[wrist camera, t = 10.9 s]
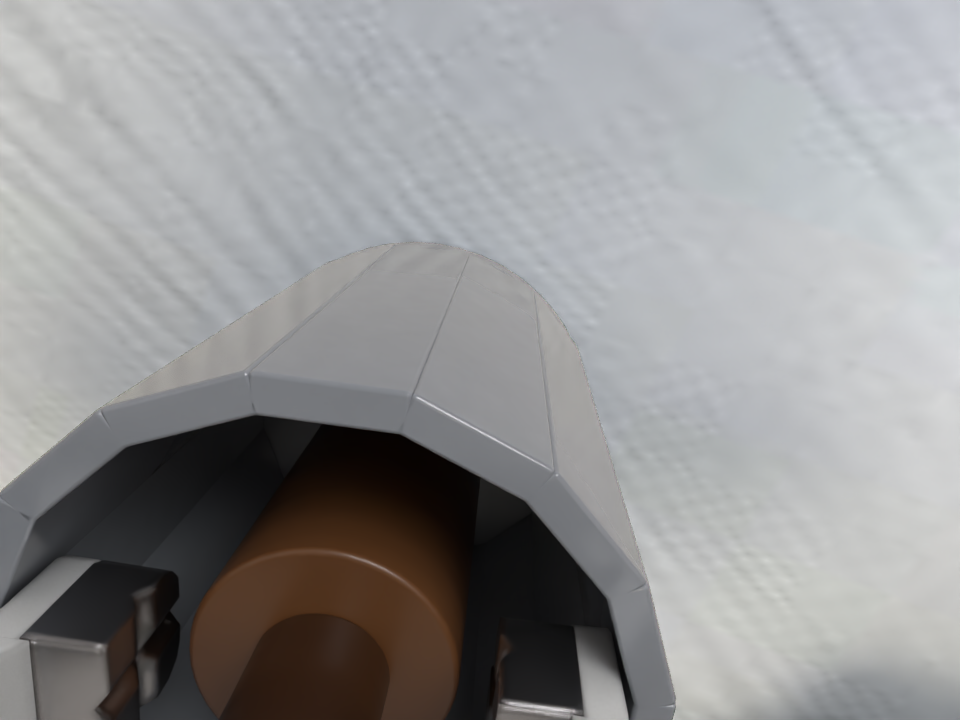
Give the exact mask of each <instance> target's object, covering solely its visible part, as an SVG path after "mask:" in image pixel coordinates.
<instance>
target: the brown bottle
mask: <svg viewBox="0 0 960 720" xmlns="http://www.w3.org/2000/svg"><path fill="white" fill-rule="evenodd" d="M480 478H481V477H479V476H477V475H475V474H473V473H471V472H469V471H467V470H466V469H464V468H462V467H460V466H458V465H456V464H454V463H452V462H451V461H449V460H447V459H445V458H443V457H441V456H439V455H438V454H436V453H434V452H432V451H430V450H428V449H426V448H424V447H423V446H421V445H419V444H417V443H415V442H413V441H411V440H410V439H408V438H406V437H404V436H402V435H400V434H393V433H386V432H379V431H371V430H364V429H356V428H349V427H342V426H334V425H327V424H322V425H321V426H320V428H319V429H318V431H317V432H316V434H315V435H314V436H313V438H312V439H311V441H310V442H309V444H308V445H307V447H306V448H305V450H304V451H303V453H302V454H301V455H300V457H299V458H298V460H297V461H296V463H295V464H294V466H293V467H292V469H291V470H290V471H289V473H288V474H287V476H286V477H285V479H284V480H283V482H282V483H281V485H280V486H279V487H278V489H277V490H276V492H275V493H274V495H273V496H272V498H271V499H270V501H269V502H268V504H267V505H266V506H265V508H264V509H263V511H262V512H261V514H260V515H259V517H258V518H257V520H256V521H255V522H254V524H253V525H252V527H251V528H250V530H249V531H248V533H247V534H246V536H245V537H244V539H243V540H242V541H241V543H240V544H239V546H238V547H237V549H236V550H235V552H234V553H233V555H232V556H231V557H230V559H229V560H228V562H227V563H226V565H225V566H224V568H223V569H222V571H221V572H220V574H219V575H218V576H217V578H216V579H215V581H214V582H213V584H212V585H211V587H210V588H209V590H208V591H207V593H206V594H205V596H204V597H203V599H202V601H201V602H200V604H199V606H198V609H197V611H196V613H195V616H194V619H193V623H192V627H191V632H190V646H189V652H190V663H191V668H192V672H193V676H194V679H195V682H196V684H197V687H198V689H199V691H200V693H201V695H202V697H203V699H204V700H205V702H206V704H207V705H208V707H209V708H210V709H211V711H212V712H213V713H214V715H215V716H216V717H217V718H218V720H445V718H446V717H447V715H448V713H449V712H450V710H451V708H452V705H453V703H454V700H455V698H456V694H457V690H458V686H459V679H460V669H461V660H462V650H463V641H464V631H465V622H466V612H467V603H468V593H469V583H470V574H471V564H472V555H473V545H474V536H475V526H476V517H477V507H478V497H479V488H480Z"/></svg>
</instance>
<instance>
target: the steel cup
mask: <svg viewBox="0 0 960 720" xmlns="http://www.w3.org/2000/svg"><path fill="white" fill-rule="evenodd" d="M322 424H327V425H334V426H342V427H349V428H356V429H364V430H371V431H379V432H386V433H393V434H400V435H402V436H404V437H406V438H408V439H410V440H411V441H413V442H415V443H417V444H419V445H421V446H423V447H424V448H426V449H428V450H430V451H432V452H434V453H436V454H438V455H439V456H441V457H443V458H445V459H447V460H449V461H451V462H452V463H454V464H456V465H458V466H460V467H462V468H464V469H466V470H467V471H469V472H471V473H473V474H475V475H477V476H479V477H481V478H480V488H479V497H478V507H477V517H476V526H475V536H474V545H473V555H472V564H471V574H470V583H469V593H468V603H467V612H466V622H465V631H464V641H463V650H462V660H461V669H460V679H459V686H458V690H457V694H456V698H455V700H454V703H453V705H452V708H451V710H450V712H449V713H448V715H447V717H446V718H445V720H485V712H486V703H487V695H488V687H489V680H490V673H491V667H492V666H493V665H494V661H495V641H496V635H497V629H498V624H499V619H500V616H502V617H510V618H517V619H525V620H533V621H540V622H548V623H555V624H563V625H570V626H572V625H581V626H590V627H599V628H608V629H609V631H610V632H611V633H612V636H613V641H614V646H615V651H616V656H617V661H618V666H619V671H620V676H621V681H622V686H623V691H624V696H625V701H626V706H627V711H628V716H629V720H672V719H673V715H674V712H675V708H676V706H675V701H676V696H675V692H674V688H673V684H672V680H671V675H670V671H669V667H668V663H667V658H666V654H665V650H664V646H663V641H662V637H661V633H660V629H659V624H658V620H657V616H656V612H655V607H654V603H653V599H652V595H651V590H650V586H649V583H648V580H647V576H646V573H645V570H644V566H643V563H642V560H641V556H640V553H639V550H638V546H637V543H636V540H635V536H634V533H633V530H632V526H631V523H630V520H629V516H628V513H627V510H626V506H625V503H624V500H623V496H622V493H621V490H620V487H619V483H618V480H617V477H616V473H615V470H614V467H613V463H612V460H611V457H610V453H609V450H608V447H607V443H606V440H605V437H604V433H603V430H602V427H601V423H600V420H599V417H598V413H597V410H596V407H595V403H594V400H593V397H592V393H591V390H590V387H589V383H588V380H587V377H586V374H585V370H584V367H583V364H582V360H581V357H580V354H579V350H578V348H577V346H576V344H575V343H574V341H573V340H572V339H571V337H570V335H569V333H568V331H567V329H566V328H565V326H564V325H563V323H562V322H561V320H560V319H559V317H558V316H557V314H556V312H555V311H554V310H553V309H552V307H551V306H550V305H549V304H548V303H547V302H546V301H545V299H544V298H543V297H542V296H541V295H540V294H539V293H538V292H537V291H536V290H535V289H533V288H532V287H531V286H530V285H529V284H528V283H527V282H526V281H524V280H523V279H522V278H520V277H519V276H517V275H516V274H514V273H513V272H511V271H510V270H508V269H507V268H505V267H504V266H502V265H500V264H498V263H496V262H494V261H492V260H490V259H488V258H486V257H484V256H482V255H479V254H476V253H473V252H470V251H467V250H464V249H461V248H457V247H452V246H447V245H442V244H437V243H423V242H405V243H390V244H385V245H380V246H375V247H370V248H367V249H364V250H361V251H358V252H355V253H352V254H349V255H347V256H345V257H343V258H341V259H337V260H334V261H330V262H328V263H326V264H324V265H322V266H321V267H319V268H318V269H316V270H314V271H313V272H311V273H310V274H308V275H307V276H305V277H304V278H302V279H300V280H299V281H297V282H296V283H294V284H293V285H291V286H290V287H288V288H286V289H285V290H283V291H282V292H280V293H279V294H277V295H275V296H274V297H272V298H271V299H269V300H268V301H266V302H265V303H263V304H261V305H260V306H258V307H257V308H255V309H254V310H252V311H250V312H249V313H247V314H246V315H244V316H243V317H241V318H240V319H238V320H236V321H235V322H233V323H232V324H230V325H229V326H227V327H226V328H224V329H222V330H221V331H219V332H218V333H216V334H215V335H213V336H211V337H210V338H208V339H207V340H205V341H204V342H202V343H201V344H199V345H197V346H196V347H194V348H193V349H191V350H190V351H188V352H186V353H185V354H183V355H182V356H180V357H179V358H177V359H176V360H174V361H172V362H171V363H169V364H168V365H166V366H165V367H163V368H162V369H160V370H158V371H157V372H155V373H154V374H152V375H151V376H149V377H147V378H146V379H144V380H143V381H141V382H140V383H138V384H137V385H135V386H133V387H132V388H130V389H129V390H127V391H126V392H124V393H122V394H121V395H119V396H118V397H116V398H115V399H113V400H112V401H110V402H108V403H107V404H105V405H104V406H102V407H101V408H99V409H97V410H96V411H95V412H94V413H92V414H91V415H90V416H89V417H88V418H86V419H85V420H84V421H83V422H82V423H81V424H79V425H78V426H77V427H76V428H75V429H73V430H72V431H71V432H70V433H69V434H67V435H66V436H65V437H64V438H63V439H61V440H60V441H59V442H58V443H57V444H56V445H54V446H53V447H52V448H51V449H50V450H48V451H47V452H46V453H45V454H44V455H42V456H41V457H40V458H39V459H38V460H37V461H35V462H34V463H33V464H32V465H31V466H29V467H28V468H27V469H26V470H25V471H23V472H22V473H21V474H20V475H19V476H18V477H16V478H15V479H14V480H13V481H12V482H10V483H9V484H8V485H7V486H6V487H4V488H3V489H2V490H1V492H0V609H1V608H2V607H3V606H4V605H5V604H6V603H7V602H9V601H10V600H11V599H12V598H13V597H14V596H15V595H16V594H17V593H19V592H20V591H21V590H22V589H23V588H24V587H25V586H26V585H27V584H29V583H30V582H31V581H32V580H33V579H34V578H35V577H36V576H37V575H38V574H40V573H41V572H42V571H43V570H44V569H45V568H46V567H47V566H48V565H50V564H51V563H52V562H53V561H54V560H55V559H56V558H59V557H62V556H66V555H72V556H79V557H85V558H92V559H98V560H101V561H102V560H107V561H113V562H120V563H126V564H132V565H138V566H145V567H151V568H157V569H163V570H169V571H173V572H174V573H175V574H176V575H177V576H178V579H179V595H180V597H179V599H178V600H177V601H176V603H175V604H174V606H173V607H172V608H171V610H170V611H171V613H172V614H173V615H174V617H175V618H176V619H177V621H178V622H179V623H180V643H179V649H178V655H177V659H176V662H175V664H174V667H173V670H172V672H171V675H170V678H169V680H168V682H167V683H166V685H165V686H164V688H163V690H162V691H161V693H160V695H159V696H158V697H157V698H155V699H154V700H152V701H150V702H149V703H147V704H145V705H143V706H142V707H140V720H218V718H217V717H216V716H215V715H214V713H213V712H212V711H211V709H210V708H209V707H208V705H207V704H206V702H205V700H204V699H203V697H202V695H201V693H200V691H199V689H198V687H197V684H196V682H195V679H194V676H193V672H192V668H191V663H190V652H189V646H190V632H191V627H192V623H193V619H194V616H195V613H196V611H197V609H198V606H199V604H200V602H201V601H202V599H203V597H204V596H205V594H206V593H207V591H208V590H209V588H210V587H211V585H212V584H213V582H214V581H215V579H216V578H217V576H218V575H219V574H220V572H221V571H222V569H223V568H224V566H225V565H226V563H227V562H228V560H229V559H230V557H231V556H232V555H233V553H234V552H235V550H236V549H237V547H238V546H239V544H240V543H241V541H242V540H243V539H244V537H245V536H246V534H247V533H248V531H249V530H250V528H251V527H252V525H253V524H254V522H255V521H256V520H257V518H258V517H259V515H260V514H261V512H262V511H263V509H264V508H265V506H266V505H267V504H268V502H269V501H270V499H271V498H272V496H273V495H274V493H275V492H276V490H277V489H278V487H279V486H280V485H281V483H282V482H283V480H284V479H285V477H286V476H287V474H288V473H289V471H290V470H291V469H292V467H293V466H294V464H295V463H296V461H297V460H298V458H299V457H300V455H301V454H302V453H303V451H304V450H305V448H306V447H307V445H308V444H309V442H310V441H311V439H312V438H313V436H314V435H315V434H316V432H317V431H318V429H319V428H320V426H321V425H322Z"/></svg>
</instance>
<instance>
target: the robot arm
mask: <svg viewBox="0 0 960 720" xmlns="http://www.w3.org/2000/svg"><path fill="white" fill-rule="evenodd" d="M179 597H180V595H179V579H178V576H177V575H176V574H175V573H174V572H173V571H169V570H163V569H157V568H151V567H145V566H138V565H132V564H126V563H120V562H113V561H107V560H102V561H101V560H98V559H92V558H85V557H79V556H72V555H66V556H62V557H59V558H56V559H55V560H54V561H53V562H52V563H51V564H50V565H48V566H47V567H46V568H45V569H44V570H43V571H42V572H41V573H40V574H38V575H37V576H36V577H35V578H34V579H33V580H32V581H31V582H30V583H29V584H27V585H26V586H25V587H24V588H23V589H22V590H21V591H20V592H19V593H17V594H16V595H15V596H14V597H13V598H12V599H11V600H10V601H9V602H7V603H6V604H5V605H4V606H3V607H2V608H1V609H0V720H140V707H142V706H143V705H145V704H147V703H149V702H150V701H152V700H154V699H155V698H157V697H158V696H159V695H160V693H161V691H162V690H163V688H164V686H165V685H166V683H167V682H168V680H169V678H170V675H171V672H172V670H173V667H174V664H175V662H176V659H177V655H178V649H179V643H180V623H179V622H178V621H177V619H176V618H175V617H174V615H173V614H172V613H171V611H170V610H171V608H172V607H173V606H174V604H175V603H176V601H177V600H178V599H179ZM485 720H629V716H628V711H627V706H626V701H625V696H624V691H623V686H622V681H621V676H620V671H619V666H618V661H617V656H616V651H615V646H614V641H613V636H612V633H611V632H610V631H609V629H608V628H599V627H590V626H581V625H572V626H570V625H563V624H555V623H548V622H540V621H533V620H525V619H517V618H510V617H502V616H500V619H499V624H498V629H497V635H496V641H495V661H494V665H493V666H492V667H491V673H490V680H489V687H488V695H487V703H486V712H485Z"/></svg>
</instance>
